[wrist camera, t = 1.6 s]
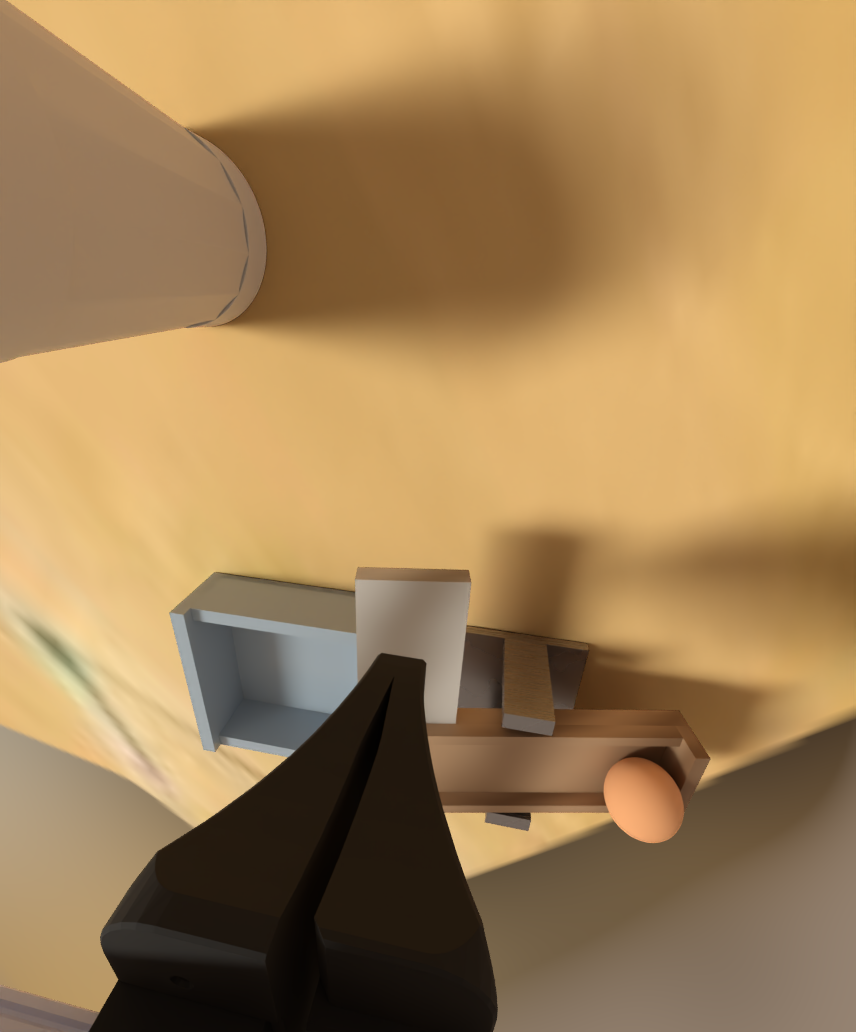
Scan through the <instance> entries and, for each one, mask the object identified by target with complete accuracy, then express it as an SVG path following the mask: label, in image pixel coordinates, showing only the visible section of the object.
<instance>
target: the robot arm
mask: <svg viewBox="0 0 856 1032" xmlns="http://www.w3.org/2000/svg"><path fill="white" fill-rule="evenodd" d="M426 664H427V663H426V662H425V661H424V660H423V659H417V658H411V657H405V656H398V655H392V654H386V653H380V654H379V655H378V656H377V657H376V659H375V660H374V662H373V663H372V665H371V666H370V667H369V669H368V670H367V672H366V673H365V674H364V676H363V677H362V678H361V680H360V681H359V682H358V683H357V685H356V686H355V687H354V689H353V690H352V691H351V692H350V693H349V694H348V696H347V697H346V698H345V699H344V700H343V702H342V703H341V704H340V705H339V706H338V708H337V709H336V710H335V711H334V712H333V713H332V714H331V715H330V716H329V717H328V718H327V719H326V721H325V722H324V723H323V724H322V725H321V726H320V727H319V728H318V729H317V730H316V731H315V732H314V733H313V734H312V735H311V736H310V737H309V738H308V739H307V740H306V741H305V742H304V743H303V744H302V745H301V746H300V747H299V748H298V749H297V750H296V751H294V752H293V753H292V754H291V755H290V756H289V757H288V758H287V759H286V760H285V761H283V762H282V763H281V764H280V765H279V766H277V767H276V768H275V769H274V770H273V771H272V772H270V773H269V774H268V775H267V776H266V777H264V778H263V779H262V780H261V781H259V782H258V783H257V784H256V785H254V786H253V787H252V788H251V789H249V790H248V791H247V792H245V793H244V794H243V795H241V796H240V797H238V798H237V799H236V800H234V801H233V802H232V803H230V804H229V805H227V806H226V807H225V808H223V809H222V810H221V811H219V812H218V813H216V814H215V815H214V816H212V817H211V818H209V819H208V820H206V821H205V822H203V823H202V824H200V825H199V826H197V827H195V828H194V829H192V830H191V831H189V832H188V833H186V834H184V835H183V836H181V837H180V838H178V839H176V840H175V841H173V842H172V843H170V844H169V845H167V846H165V847H164V848H162V849H161V850H159V851H158V852H157V853H156V854H155V855H154V857H153V858H152V859H151V860H150V862H149V863H148V864H147V866H146V867H145V868H144V869H143V871H142V872H141V873H140V874H139V876H138V877H137V878H136V880H135V881H134V882H133V884H132V885H131V887H130V888H129V890H128V891H127V893H126V895H125V896H124V897H123V899H122V901H121V902H120V904H119V905H118V907H117V908H116V910H115V911H114V913H113V914H112V916H111V917H110V919H109V920H108V922H107V923H106V925H105V927H104V928H103V930H102V933H101V936H100V940H101V946H102V949H103V952H104V954H105V956H106V957H107V959H108V961H109V963H110V965H111V967H112V969H113V970H114V972H115V974H116V976H117V978H118V982H117V983H116V985H115V987H114V988H113V990H112V992H111V994H110V995H109V997H108V999H107V1001H106V1002H105V1004H104V1006H103V1008H102V1009H101V1011H100V1013H99V1012H95V1011H92V1010H88V1009H84V1008H81V1007H77V1006H74V1005H70V1004H66V1003H63V1002H60V1001H56V1000H52V999H49V998H46V997H42V996H38V995H35V994H31V993H28V992H24V991H20V990H17V989H14V988H10V987H6V986H3V985H0V1032H493V1030H494V1027H495V1023H496V1020H497V1010H498V1009H497V1008H498V1007H497V994H496V987H495V980H494V975H493V969H492V964H491V959H490V955H489V950H488V946H487V941H486V937H485V933H484V928H483V923H482V920H481V917H480V915H479V912H478V910H477V908H476V905H475V902H474V900H473V897H472V895H471V892H470V889H469V887H468V884H467V882H466V879H465V876H464V873H463V870H462V867H461V864H460V861H459V859H458V856H457V853H456V850H455V846H454V843H453V840H452V837H451V833H450V830H449V827H448V824H447V820H446V817H445V814H444V810H443V806H442V803H441V799H440V795H439V791H438V787H437V782H436V778H435V774H434V769H433V764H432V759H431V753H430V748H429V742H428V735H427V728H426V718H425V708H424V690H425V677H426Z"/></svg>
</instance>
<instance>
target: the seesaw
mask: <svg viewBox="0 0 856 1032" xmlns="http://www.w3.org/2000/svg"><path fill="white" fill-rule="evenodd" d="M470 589H471V579H470V574H469V570H447V569H410V568H373V567H358V568H357V573H356V578H355V596H356V638H357V679H358V682H359V681H360V680H361V678H362V677H363V676H364V674H365V673H366V672H367V670H368V669H369V667H370V666H371V665H372V663H373V662H374V660H375V659H376V657H377V656H378V655H379V654H380V653H386V654H392V655H398V656H405V657H411V658H417V659H423V660H424V661H425V662H426V663H427V664H426V677H425V690H424V708H425V718H426V728H427V735H428V742H429V748H430V753H431V759H432V764H433V769H434V774H435V778H436V782H437V787H438V791H439V795H440V799H441V803H442V806H443V810H444V813H609V811H608V808H607V806H606V803H605V798H604V782H605V778H606V775H607V773H608V771H609V770H610V768H611V767H612V766H613V765H614V764H615V763H617V762H618V761H620V760H622V759H625V758H630V757H638V758H644V759H647V760H650V761H652V762H654V763H656V764H657V765H659V766H660V767H662V768H663V769H664V770H665V771H666V772H667V773H668V774H669V775H670V776H671V777H672V778H673V780H674V781H675V783H676V785H677V786H678V788H679V790H680V793H681V796H682V800H683V805H684V812H685V809H686V808H687V805H688V803H689V801H690V799H691V797H692V795H693V793H694V791H695V789H696V787H697V785H698V783H699V781H700V779H701V777H702V775H703V773H704V771H705V769H706V767H707V765H708V763H709V761H710V757H709V756H708V754H707V753H706V751H705V750H704V748H703V746H702V745H701V743H700V742H699V740H698V739H697V737H696V736H695V734H694V733H693V731H692V730H691V728H690V727H689V725H688V724H687V722H686V721H685V719H684V718H683V716H682V714H681V713H680V711H679V710H596V709H554V714H555V726H554V730H553V734H552V736H549V735H544V734H538V733H532V732H526V731H520V730H515V729H509V728H503V727H502V708H457V706H458V697H459V688H460V679H461V670H462V661H463V652H464V643H465V634H466V625H467V616H468V607H469V598H470Z"/></svg>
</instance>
